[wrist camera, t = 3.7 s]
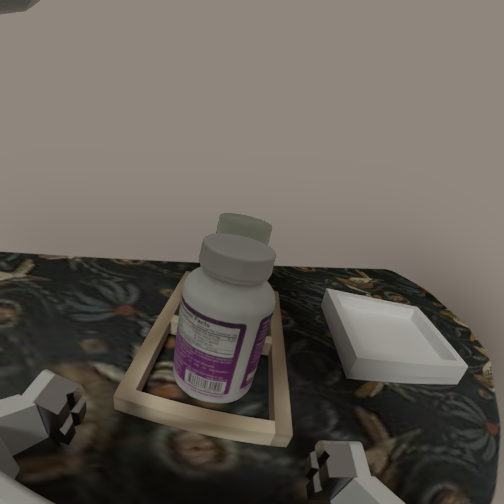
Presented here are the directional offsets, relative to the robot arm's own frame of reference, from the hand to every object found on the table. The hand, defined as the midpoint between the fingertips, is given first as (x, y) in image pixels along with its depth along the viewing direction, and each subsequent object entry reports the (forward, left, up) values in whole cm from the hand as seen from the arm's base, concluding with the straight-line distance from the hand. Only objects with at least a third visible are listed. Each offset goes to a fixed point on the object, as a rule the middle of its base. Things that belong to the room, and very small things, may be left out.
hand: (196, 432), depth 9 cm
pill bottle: (0, +9, -6) cm, 11 cm away
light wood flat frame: (0, +14, -6) cm, 15 cm away
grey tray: (+17, +18, -6) cm, 26 cm away
